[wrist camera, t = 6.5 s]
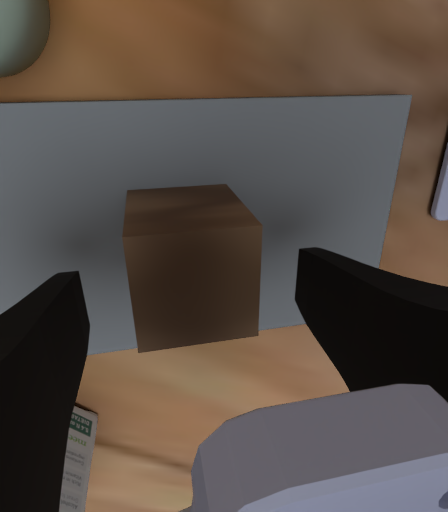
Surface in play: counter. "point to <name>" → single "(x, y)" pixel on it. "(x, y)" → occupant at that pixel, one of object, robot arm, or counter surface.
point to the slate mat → (191, 174)
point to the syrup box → (78, 460)
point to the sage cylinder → (22, 33)
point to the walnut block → (191, 266)
